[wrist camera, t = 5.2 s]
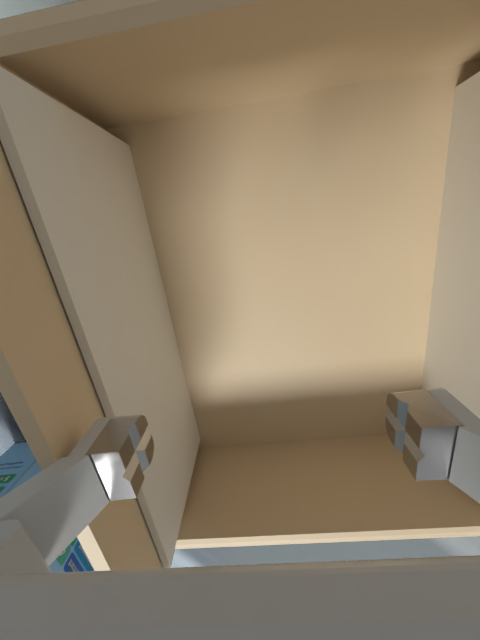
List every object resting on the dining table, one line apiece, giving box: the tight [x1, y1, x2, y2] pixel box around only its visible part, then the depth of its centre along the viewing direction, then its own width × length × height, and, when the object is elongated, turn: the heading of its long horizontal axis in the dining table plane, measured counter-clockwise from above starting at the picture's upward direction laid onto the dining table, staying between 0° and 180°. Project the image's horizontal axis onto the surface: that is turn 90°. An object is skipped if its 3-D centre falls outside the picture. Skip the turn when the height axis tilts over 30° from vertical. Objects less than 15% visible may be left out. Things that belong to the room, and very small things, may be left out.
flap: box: [0, 140, 164, 571], centre depth 10 cm, size 24×1×6 cm, turn 8°
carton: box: [0, 0, 480, 568], centre depth 15 cm, size 27×22×10 cm
